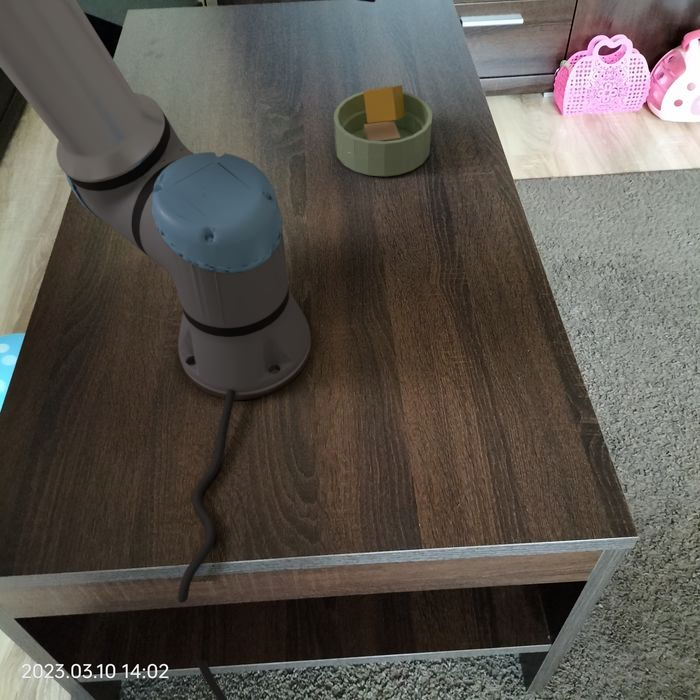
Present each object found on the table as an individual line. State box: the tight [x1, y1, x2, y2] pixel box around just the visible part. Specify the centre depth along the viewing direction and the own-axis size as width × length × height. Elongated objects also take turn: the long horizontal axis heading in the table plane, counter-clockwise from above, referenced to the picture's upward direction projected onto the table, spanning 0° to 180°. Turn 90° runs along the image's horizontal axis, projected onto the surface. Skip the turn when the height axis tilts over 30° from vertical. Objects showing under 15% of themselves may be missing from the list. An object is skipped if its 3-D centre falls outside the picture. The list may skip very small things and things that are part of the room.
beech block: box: [364, 121, 401, 141], centre depth 106 cm, size 4×4×4 cm
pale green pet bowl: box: [333, 91, 434, 177], centre depth 108 cm, size 14×14×6 cm
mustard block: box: [363, 84, 405, 123], centre depth 107 cm, size 4×4×4 cm
